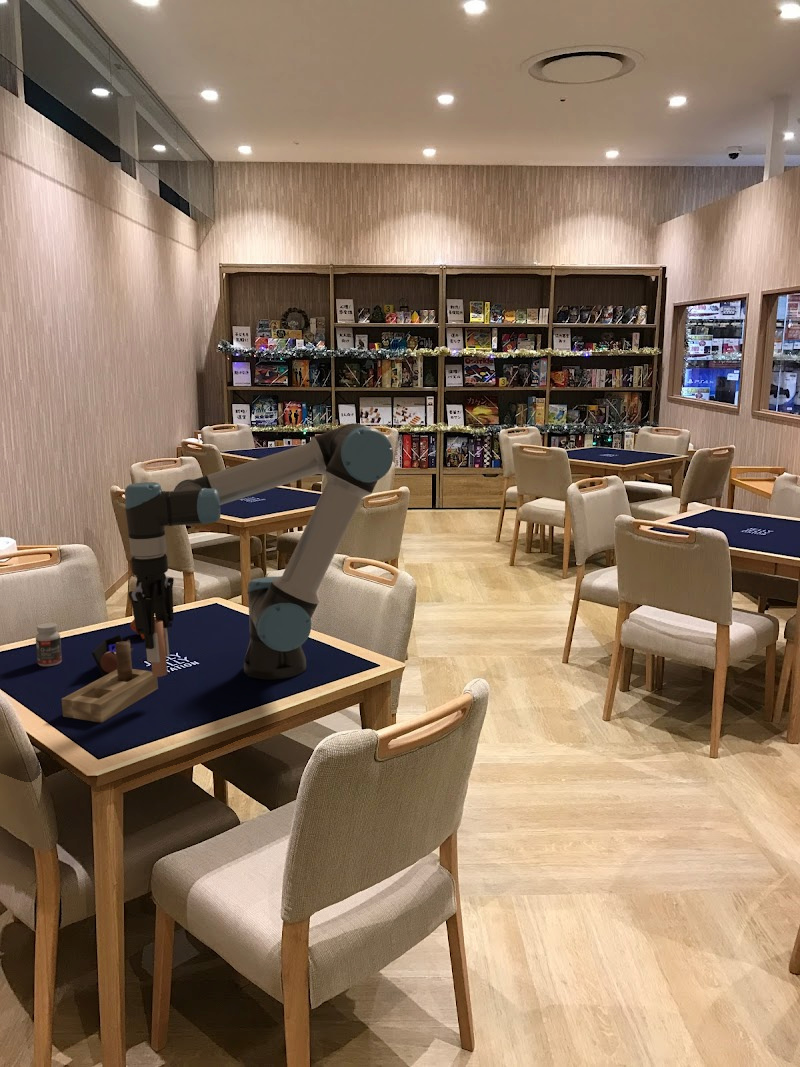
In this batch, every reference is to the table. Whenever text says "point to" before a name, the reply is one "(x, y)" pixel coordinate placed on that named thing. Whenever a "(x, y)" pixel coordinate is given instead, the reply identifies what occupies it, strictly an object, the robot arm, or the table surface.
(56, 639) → the pill bottle
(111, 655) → the character figurine
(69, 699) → the maple hole block
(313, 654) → the table surface
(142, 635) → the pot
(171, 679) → the table surface
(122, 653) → the walnut peg
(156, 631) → the terracotta peg
